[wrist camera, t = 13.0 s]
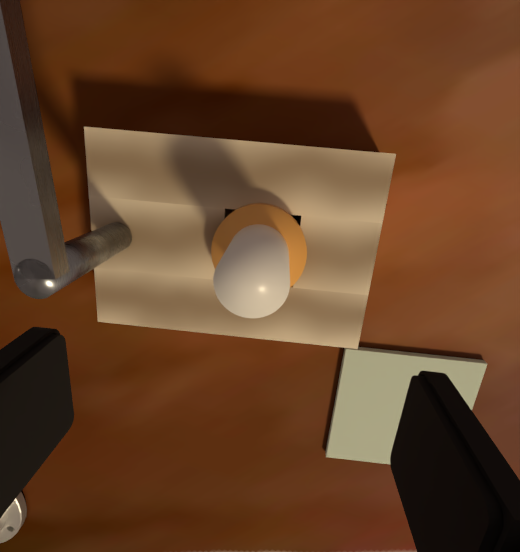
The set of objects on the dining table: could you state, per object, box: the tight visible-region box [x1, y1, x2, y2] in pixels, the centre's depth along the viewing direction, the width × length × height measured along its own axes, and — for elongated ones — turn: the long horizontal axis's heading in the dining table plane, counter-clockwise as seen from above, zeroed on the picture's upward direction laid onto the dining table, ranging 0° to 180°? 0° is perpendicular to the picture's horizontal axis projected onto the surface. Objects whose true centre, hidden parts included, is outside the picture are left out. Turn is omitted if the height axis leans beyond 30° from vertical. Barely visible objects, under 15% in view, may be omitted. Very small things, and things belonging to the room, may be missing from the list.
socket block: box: [84, 127, 396, 349], centre depth 27 cm, size 14×20×4 cm
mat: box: [326, 347, 487, 464], centre depth 33 cm, size 12×12×1 cm
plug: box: [211, 203, 307, 318], centre depth 24 cm, size 6×6×11 cm
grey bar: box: [0, 0, 132, 299], centre depth 19 cm, size 16×2×9 cm, turn 0°
